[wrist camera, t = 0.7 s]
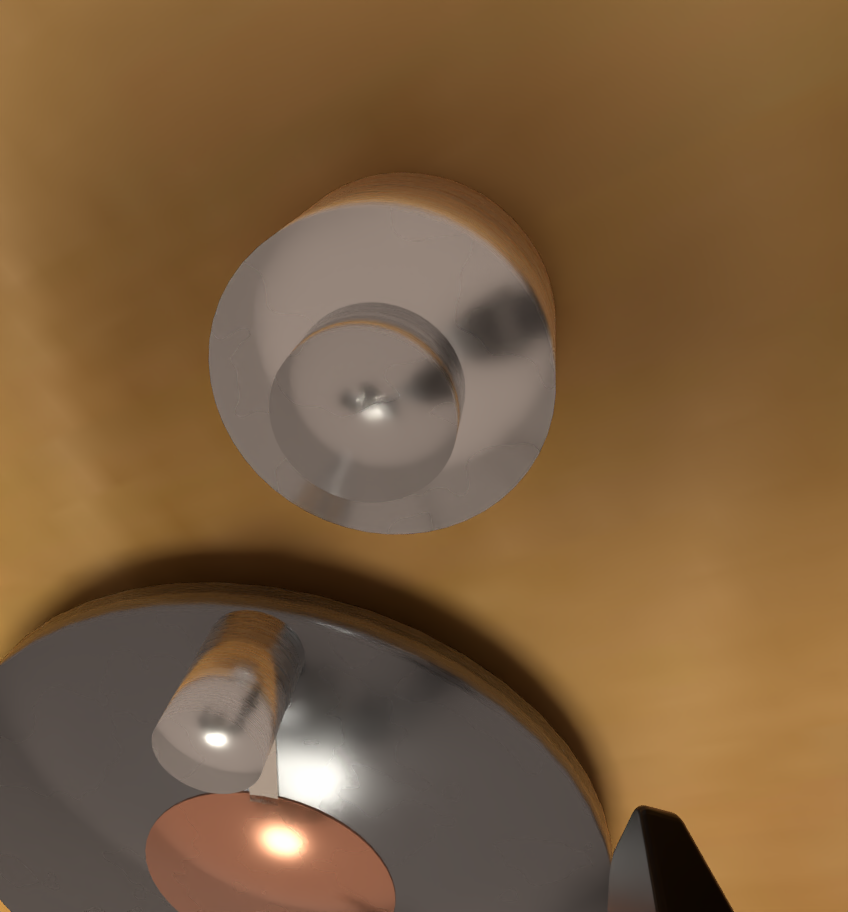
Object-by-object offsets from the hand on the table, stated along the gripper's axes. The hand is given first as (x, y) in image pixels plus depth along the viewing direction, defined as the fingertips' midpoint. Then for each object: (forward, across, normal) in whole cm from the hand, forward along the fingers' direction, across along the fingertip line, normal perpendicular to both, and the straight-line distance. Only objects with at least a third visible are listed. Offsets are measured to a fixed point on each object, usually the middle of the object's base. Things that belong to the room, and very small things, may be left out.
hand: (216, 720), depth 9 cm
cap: (+11, 0, -1) cm, 11 cm away
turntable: (+9, +1, +16) cm, 19 cm away
